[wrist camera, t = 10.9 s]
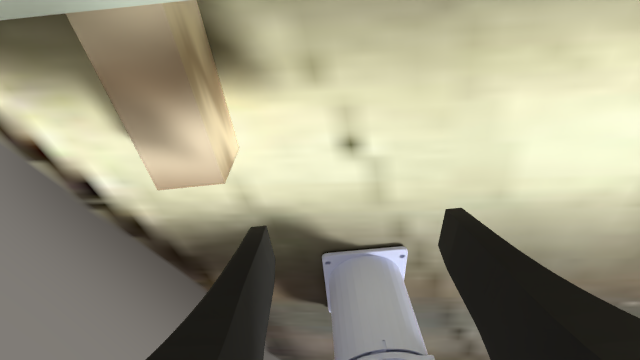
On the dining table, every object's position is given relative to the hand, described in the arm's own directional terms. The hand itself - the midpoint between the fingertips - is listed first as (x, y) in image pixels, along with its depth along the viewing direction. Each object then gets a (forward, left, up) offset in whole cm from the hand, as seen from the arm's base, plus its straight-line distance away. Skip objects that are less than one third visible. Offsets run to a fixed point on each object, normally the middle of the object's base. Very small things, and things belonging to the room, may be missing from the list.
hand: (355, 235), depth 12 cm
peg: (+6, +9, -10) cm, 15 cm away
